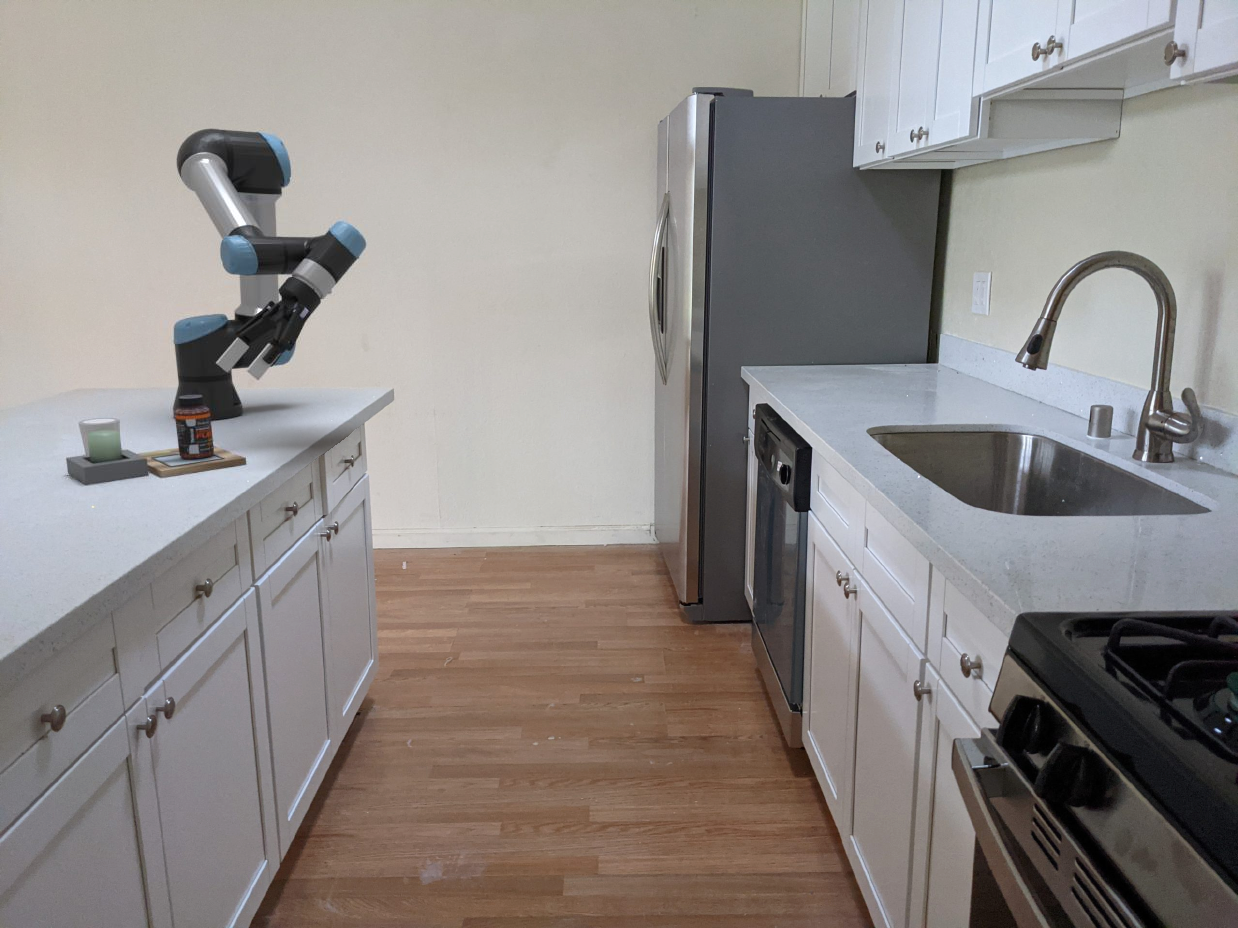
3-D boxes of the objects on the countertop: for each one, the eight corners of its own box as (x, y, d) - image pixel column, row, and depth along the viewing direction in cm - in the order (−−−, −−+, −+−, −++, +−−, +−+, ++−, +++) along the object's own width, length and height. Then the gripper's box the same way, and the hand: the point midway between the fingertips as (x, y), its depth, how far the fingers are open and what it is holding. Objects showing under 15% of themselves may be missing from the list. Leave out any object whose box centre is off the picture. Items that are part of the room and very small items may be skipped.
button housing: (68, 474, 163) (66, 457, 162) (128, 465, 170) (127, 449, 169) (86, 484, 156) (83, 467, 155) (148, 475, 163) (146, 458, 162)
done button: (86, 460, 162) (83, 432, 161) (117, 456, 166) (114, 429, 164) (95, 465, 159) (92, 437, 157) (126, 461, 162) (123, 433, 161)
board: (128, 461, 173) (127, 454, 172) (209, 449, 183) (208, 443, 183) (161, 477, 161) (161, 470, 161) (246, 464, 171) (245, 457, 171)
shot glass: (82, 462, 172) (77, 425, 170) (83, 454, 178) (79, 418, 176) (123, 458, 175) (119, 422, 173) (123, 451, 181) (119, 416, 179)
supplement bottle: (202, 460, 168) (195, 399, 166) (172, 459, 169) (165, 398, 167) (221, 452, 174) (214, 393, 171) (192, 451, 175) (185, 393, 172)
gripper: (351, 305, 175) (281, 391, 168) (290, 298, 192) (224, 376, 185) (323, 277, 170) (250, 365, 163) (263, 272, 187) (195, 352, 180)
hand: (236, 371), depth 174 cm, fingers open, 13 cm apart
